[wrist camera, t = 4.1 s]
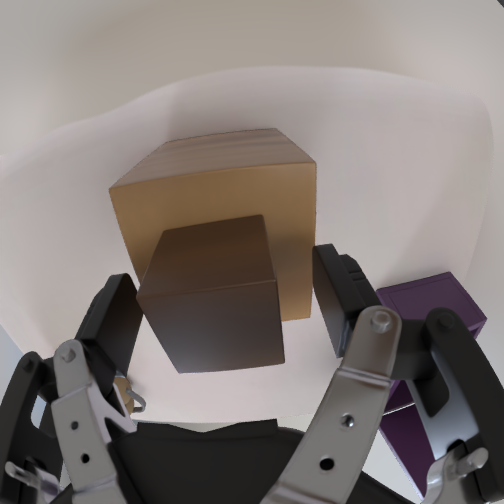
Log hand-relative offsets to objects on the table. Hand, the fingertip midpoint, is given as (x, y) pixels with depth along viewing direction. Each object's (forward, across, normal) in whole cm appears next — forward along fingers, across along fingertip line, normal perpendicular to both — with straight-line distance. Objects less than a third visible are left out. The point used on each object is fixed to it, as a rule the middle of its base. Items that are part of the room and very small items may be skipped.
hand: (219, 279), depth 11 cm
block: (+1, 0, 0) cm, 1 cm away
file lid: (-5, -19, +24) cm, 31 cm away
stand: (+11, 0, 0) cm, 11 cm away
